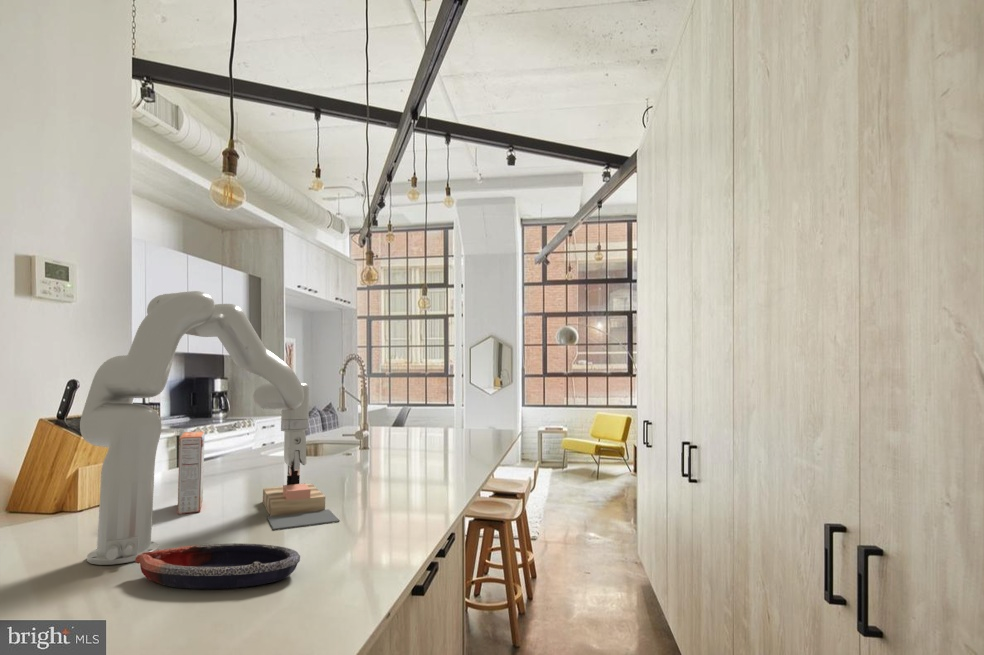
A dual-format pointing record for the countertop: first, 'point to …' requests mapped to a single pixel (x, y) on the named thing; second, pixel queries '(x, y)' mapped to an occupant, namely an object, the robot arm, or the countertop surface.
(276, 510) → the wooden block
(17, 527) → the countertop surface
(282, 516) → the mat
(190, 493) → the cracker box
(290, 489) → the pink rectangular block
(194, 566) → the dish
